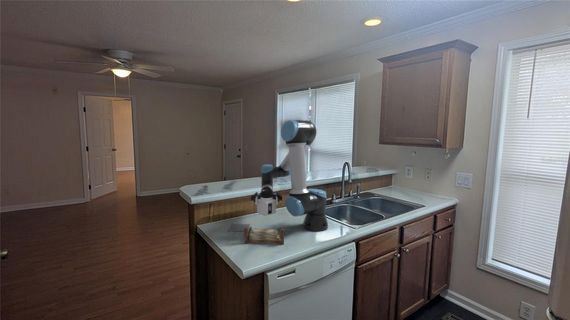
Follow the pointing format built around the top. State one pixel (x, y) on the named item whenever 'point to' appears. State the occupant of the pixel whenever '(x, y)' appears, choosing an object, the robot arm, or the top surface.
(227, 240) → the top surface
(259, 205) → the container
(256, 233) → the offcut stack
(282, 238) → the walnut rack
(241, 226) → the rubber mat
